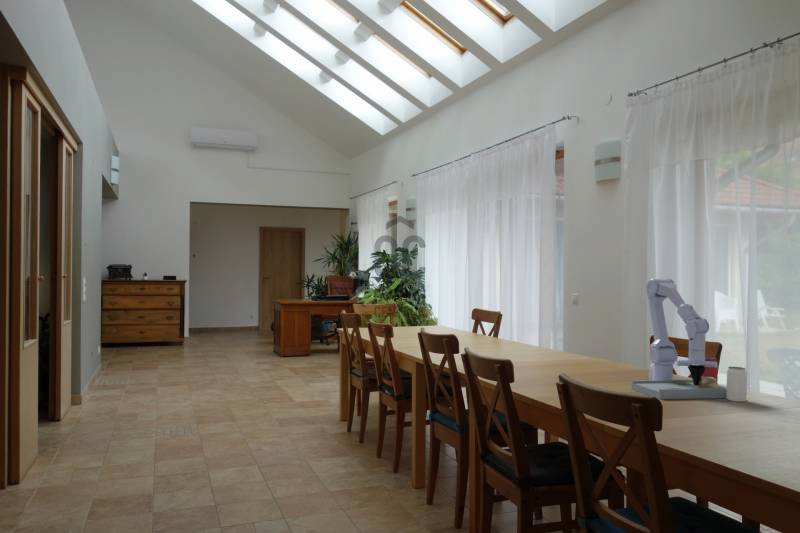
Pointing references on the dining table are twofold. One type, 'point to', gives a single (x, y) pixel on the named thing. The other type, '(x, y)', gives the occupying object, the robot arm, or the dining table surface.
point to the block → (708, 382)
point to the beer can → (711, 369)
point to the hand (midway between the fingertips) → (696, 385)
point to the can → (736, 384)
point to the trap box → (677, 389)
